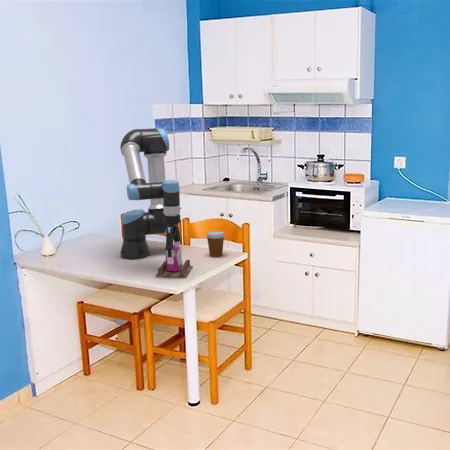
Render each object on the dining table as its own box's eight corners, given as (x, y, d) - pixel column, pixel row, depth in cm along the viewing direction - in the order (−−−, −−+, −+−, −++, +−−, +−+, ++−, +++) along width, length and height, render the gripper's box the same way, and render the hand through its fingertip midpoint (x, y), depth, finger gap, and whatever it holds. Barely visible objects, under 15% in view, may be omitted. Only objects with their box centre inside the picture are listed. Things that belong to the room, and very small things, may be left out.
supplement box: (171, 268, 265) (170, 244, 263) (182, 269, 263) (181, 245, 261) (165, 271, 260) (164, 247, 257) (177, 272, 258) (176, 248, 255)
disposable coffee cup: (218, 259, 282) (218, 235, 280) (203, 256, 287) (202, 233, 285) (228, 254, 290) (228, 231, 288) (213, 252, 295) (212, 229, 293)
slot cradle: (155, 277, 255) (155, 269, 254) (163, 267, 270) (163, 259, 270) (185, 278, 253) (185, 269, 252) (192, 267, 268) (192, 259, 268)
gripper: (174, 220, 243) (176, 267, 248) (185, 208, 267) (187, 252, 272) (157, 220, 244) (159, 267, 249) (170, 208, 268) (171, 251, 273)
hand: (173, 259), depth 261 cm, fingers open, 13 cm apart
